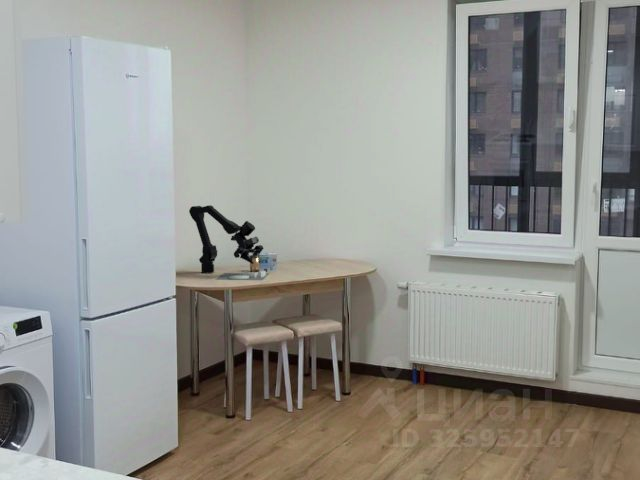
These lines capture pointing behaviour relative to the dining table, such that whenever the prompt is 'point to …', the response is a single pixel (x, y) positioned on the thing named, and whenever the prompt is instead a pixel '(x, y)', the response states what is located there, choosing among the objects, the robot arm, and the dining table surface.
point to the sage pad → (239, 277)
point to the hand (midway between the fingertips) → (256, 262)
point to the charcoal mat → (226, 275)
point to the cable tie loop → (256, 274)
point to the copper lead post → (254, 263)
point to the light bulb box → (268, 262)
